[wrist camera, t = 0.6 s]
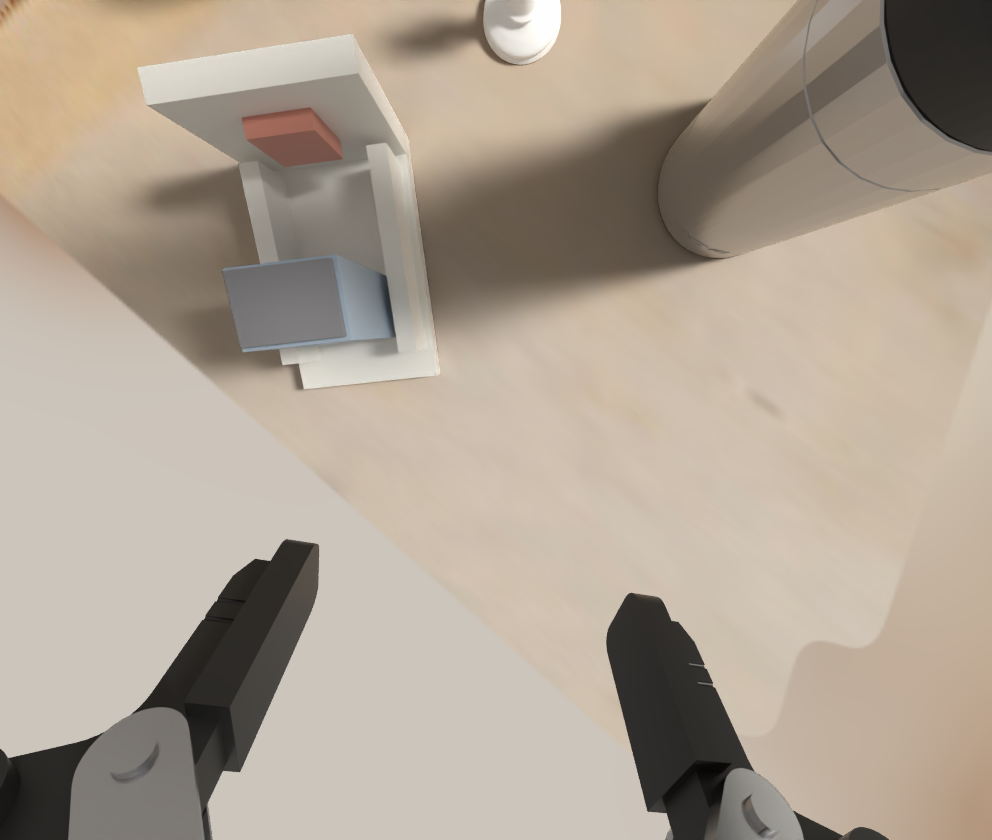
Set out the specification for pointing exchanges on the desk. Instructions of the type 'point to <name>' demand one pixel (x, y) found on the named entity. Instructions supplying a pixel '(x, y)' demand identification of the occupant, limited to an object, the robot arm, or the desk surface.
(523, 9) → the chess piece
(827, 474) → the desk surface
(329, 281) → the block
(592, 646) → the desk surface
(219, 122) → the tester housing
